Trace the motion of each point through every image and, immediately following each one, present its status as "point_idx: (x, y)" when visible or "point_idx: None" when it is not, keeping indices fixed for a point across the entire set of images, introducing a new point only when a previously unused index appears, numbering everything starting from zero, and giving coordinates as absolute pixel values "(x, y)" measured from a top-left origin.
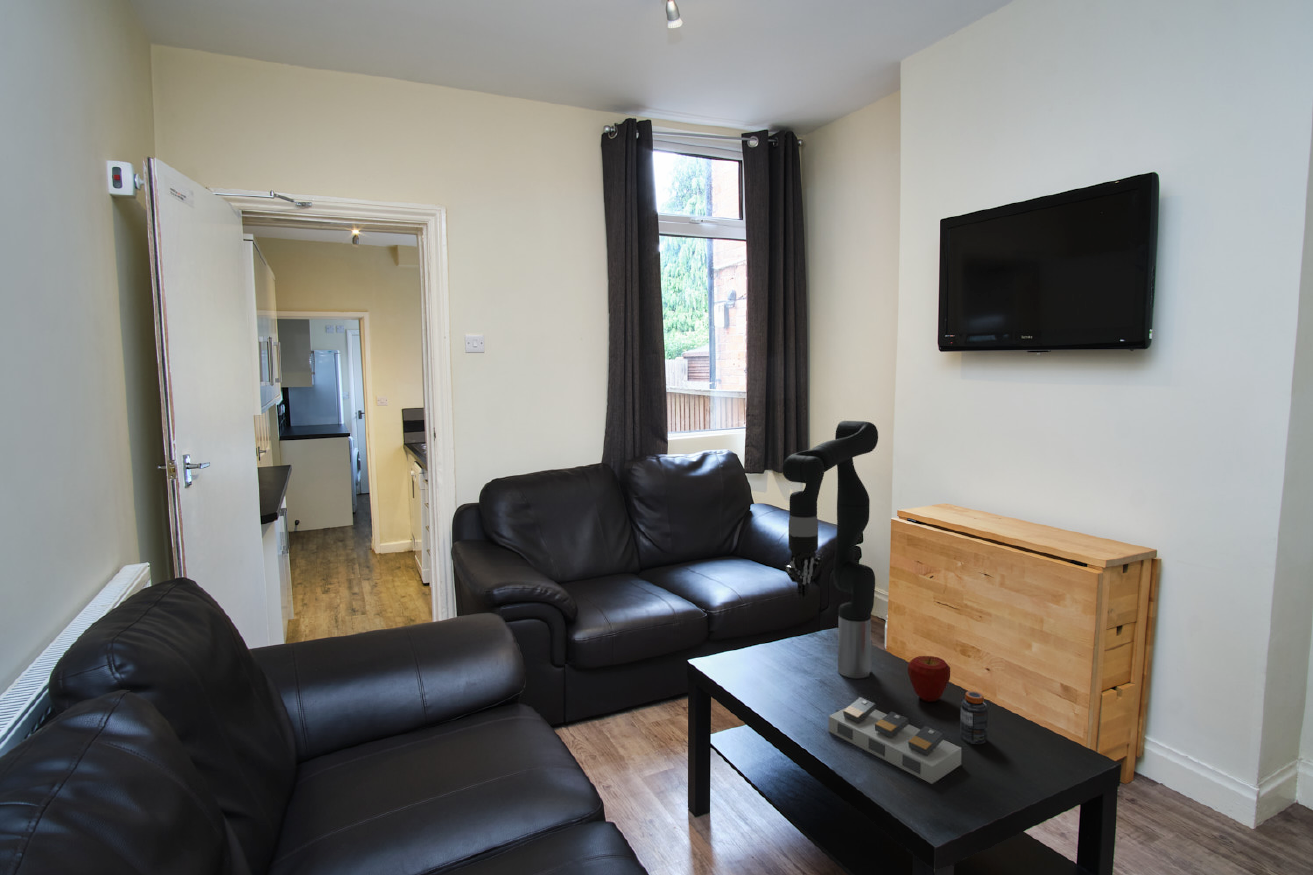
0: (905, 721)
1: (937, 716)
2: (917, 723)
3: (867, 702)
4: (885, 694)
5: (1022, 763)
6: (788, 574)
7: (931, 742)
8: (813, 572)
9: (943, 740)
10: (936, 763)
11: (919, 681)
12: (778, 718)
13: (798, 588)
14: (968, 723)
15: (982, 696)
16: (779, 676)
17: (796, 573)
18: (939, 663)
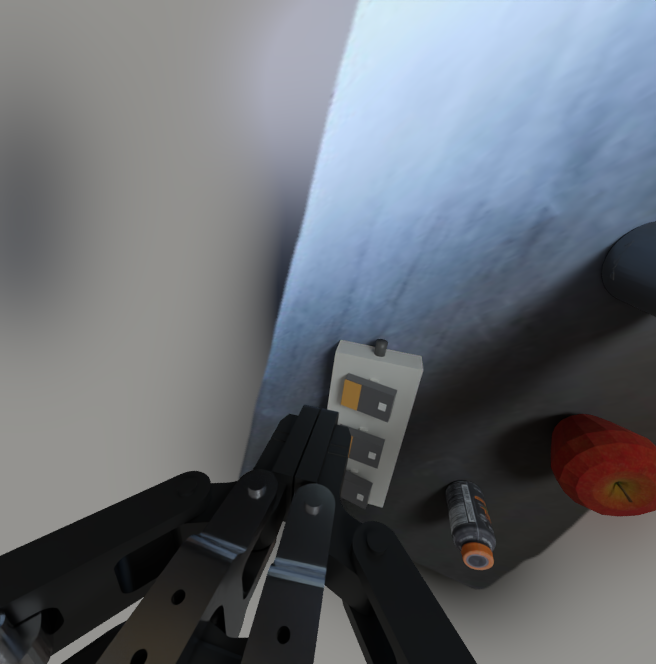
0: (370, 465)
1: (506, 448)
2: (460, 431)
3: (384, 410)
4: (549, 362)
5: (434, 533)
6: (58, 539)
7: (342, 495)
8: (366, 654)
9: (385, 490)
10: None
11: (553, 454)
12: (316, 253)
13: (265, 452)
14: (449, 514)
15: (477, 569)
16: (505, 119)
17: (78, 623)
18: (617, 508)
